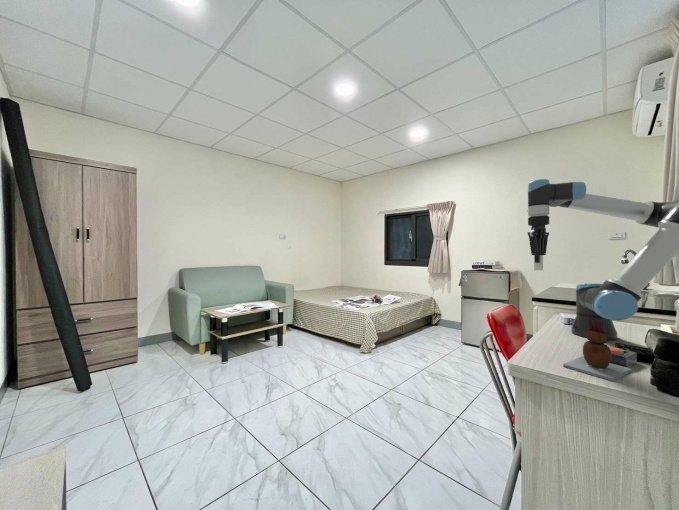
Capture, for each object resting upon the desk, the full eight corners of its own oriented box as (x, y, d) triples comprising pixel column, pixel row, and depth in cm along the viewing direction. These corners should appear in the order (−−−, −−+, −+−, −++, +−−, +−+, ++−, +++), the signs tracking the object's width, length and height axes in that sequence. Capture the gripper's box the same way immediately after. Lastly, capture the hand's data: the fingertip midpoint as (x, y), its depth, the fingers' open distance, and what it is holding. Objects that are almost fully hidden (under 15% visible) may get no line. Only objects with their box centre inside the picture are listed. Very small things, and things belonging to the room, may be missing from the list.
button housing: (601, 354, 100) (601, 344, 100) (636, 362, 92) (636, 352, 92) (590, 359, 96) (590, 349, 96) (626, 368, 88) (626, 357, 88)
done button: (606, 354, 97) (606, 345, 97) (626, 358, 93) (626, 349, 93) (600, 356, 95) (600, 348, 95) (620, 361, 90) (620, 352, 90)
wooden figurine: (578, 361, 91) (578, 316, 91) (596, 361, 91) (596, 316, 91) (597, 370, 84) (597, 321, 84) (616, 370, 84) (616, 321, 84)
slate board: (582, 358, 96) (582, 356, 96) (631, 371, 86) (631, 368, 86) (563, 366, 89) (563, 363, 89) (613, 381, 79) (613, 378, 79)
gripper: (536, 218, 126) (537, 269, 126) (520, 216, 120) (521, 270, 120) (556, 216, 119) (556, 270, 120) (540, 214, 113) (540, 271, 113)
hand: (538, 270), depth 120 cm, fingers closed
